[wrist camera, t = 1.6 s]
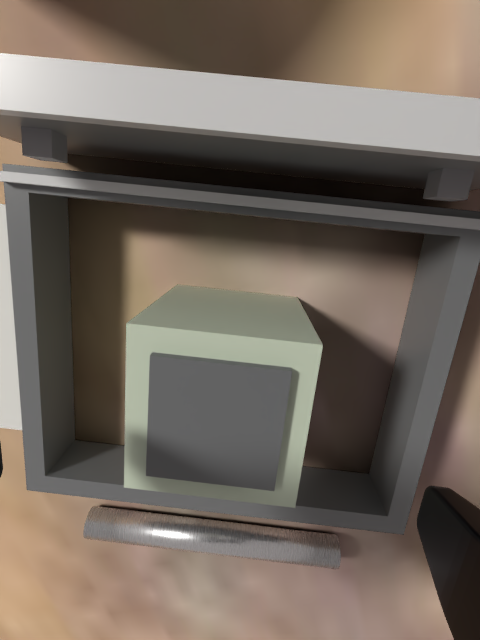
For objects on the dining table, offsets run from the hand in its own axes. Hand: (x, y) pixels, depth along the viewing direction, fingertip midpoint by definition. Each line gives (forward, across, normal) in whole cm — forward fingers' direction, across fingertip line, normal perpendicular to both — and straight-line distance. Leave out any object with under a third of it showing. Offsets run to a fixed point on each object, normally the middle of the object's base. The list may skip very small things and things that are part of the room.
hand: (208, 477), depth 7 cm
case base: (+8, 0, 0) cm, 8 cm away
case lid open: (+8, 0, -7) cm, 11 cm away
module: (+8, 0, 0) cm, 8 cm away
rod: (+8, 0, +10) cm, 13 cm away
